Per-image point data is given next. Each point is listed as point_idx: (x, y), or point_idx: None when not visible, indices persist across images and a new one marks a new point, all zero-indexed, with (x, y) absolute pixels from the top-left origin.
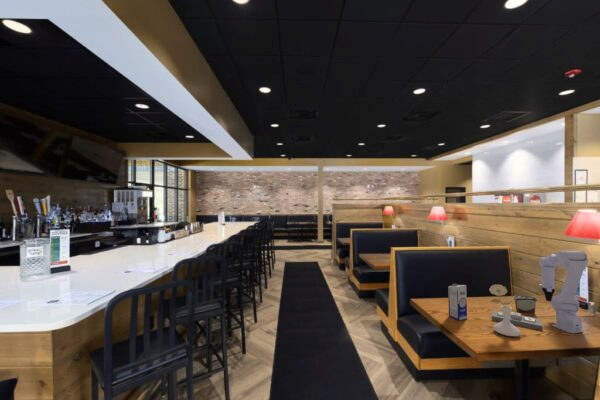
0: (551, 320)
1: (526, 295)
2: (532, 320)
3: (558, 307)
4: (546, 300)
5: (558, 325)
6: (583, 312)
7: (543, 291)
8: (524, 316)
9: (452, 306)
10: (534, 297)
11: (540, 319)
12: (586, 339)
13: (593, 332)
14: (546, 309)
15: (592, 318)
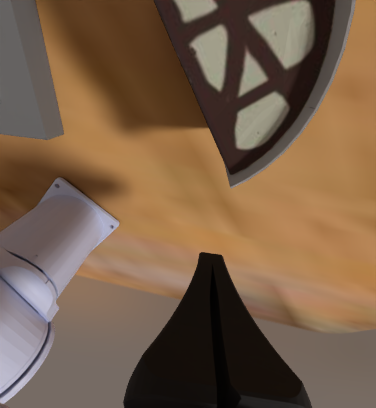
0: (151, 192)
1: (329, 80)
2: None
3: None
4: (200, 254)
5: (42, 202)
6: (335, 316)
7: (155, 342)
8: (5, 26)
9: None
10: (249, 176)
11: (35, 136)
12: None
13: (106, 280)
14: (348, 209)
15: (265, 317)
